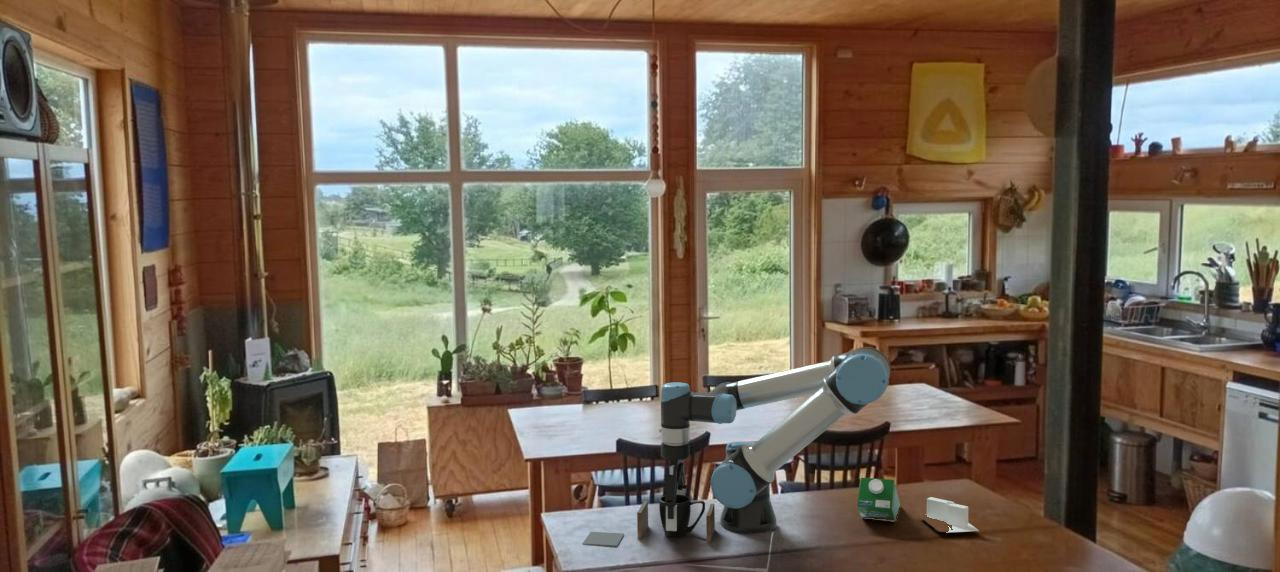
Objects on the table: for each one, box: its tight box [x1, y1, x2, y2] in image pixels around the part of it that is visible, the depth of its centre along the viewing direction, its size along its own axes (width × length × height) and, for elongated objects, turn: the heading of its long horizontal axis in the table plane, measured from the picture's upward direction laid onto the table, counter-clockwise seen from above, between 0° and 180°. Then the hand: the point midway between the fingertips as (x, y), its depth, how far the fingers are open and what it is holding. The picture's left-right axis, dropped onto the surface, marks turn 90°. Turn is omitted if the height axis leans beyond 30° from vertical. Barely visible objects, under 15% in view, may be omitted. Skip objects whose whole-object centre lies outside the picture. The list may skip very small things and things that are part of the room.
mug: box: [658, 494, 706, 539], centre depth 239 cm, size 8×12×10 cm
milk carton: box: [856, 476, 901, 520], centre depth 256 cm, size 9×9×25 cm
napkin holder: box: [926, 496, 980, 533], centre depth 247 cm, size 15×11×6 cm
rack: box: [636, 500, 716, 544], centre depth 240 cm, size 19×10×7 cm, turn 79°
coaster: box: [582, 531, 625, 548], centre depth 236 cm, size 9×9×1 cm
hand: (675, 521), depth 240 cm, fingers open, 13 cm apart
